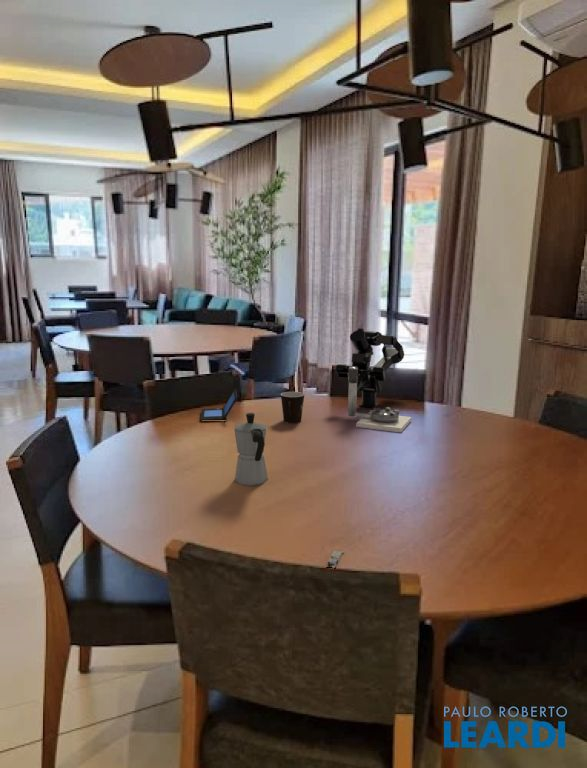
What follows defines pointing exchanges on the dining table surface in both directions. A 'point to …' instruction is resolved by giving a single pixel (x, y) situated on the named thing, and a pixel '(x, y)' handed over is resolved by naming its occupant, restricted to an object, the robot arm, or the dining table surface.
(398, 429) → the base plate
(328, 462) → the dining table surface
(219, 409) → the handheld game console
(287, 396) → the dark brown coffee cup
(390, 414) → the grey l-shaped piece
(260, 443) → the coffee maker
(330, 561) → the granola bar
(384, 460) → the dining table surface
